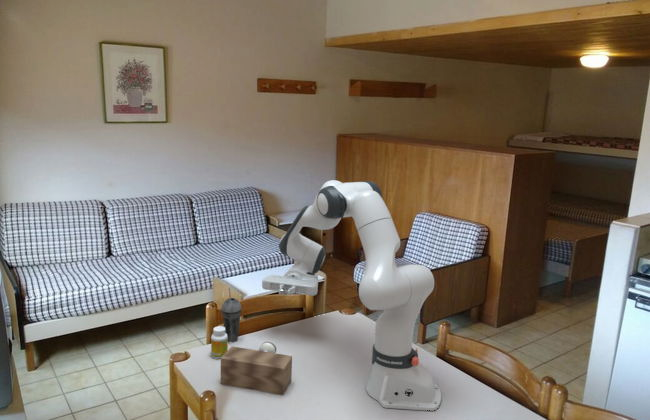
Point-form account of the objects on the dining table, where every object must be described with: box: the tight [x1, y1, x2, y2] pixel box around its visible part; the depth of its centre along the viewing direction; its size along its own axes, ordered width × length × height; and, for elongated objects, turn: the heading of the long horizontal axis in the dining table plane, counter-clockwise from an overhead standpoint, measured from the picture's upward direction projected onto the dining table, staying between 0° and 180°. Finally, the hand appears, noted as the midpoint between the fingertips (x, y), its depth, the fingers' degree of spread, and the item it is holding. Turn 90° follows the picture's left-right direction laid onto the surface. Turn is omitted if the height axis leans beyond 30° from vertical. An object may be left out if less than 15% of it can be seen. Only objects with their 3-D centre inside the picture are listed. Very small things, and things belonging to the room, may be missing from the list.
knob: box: [258, 340, 278, 354], centre depth 158 cm, size 5×9×5 cm, turn 166°
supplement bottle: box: [210, 325, 229, 360], centre depth 167 cm, size 5×5×10 cm
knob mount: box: [220, 345, 293, 396], centre depth 152 cm, size 20×8×8 cm, turn 76°
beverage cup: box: [221, 287, 243, 343], centre depth 178 cm, size 7×7×20 cm
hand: (283, 292), depth 173 cm, fingers closed
